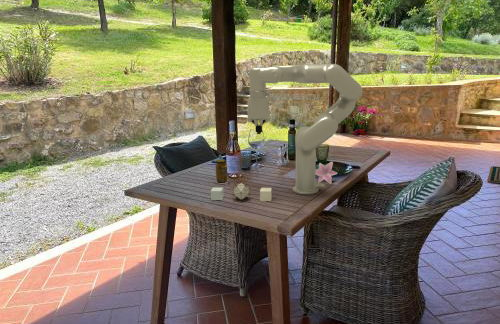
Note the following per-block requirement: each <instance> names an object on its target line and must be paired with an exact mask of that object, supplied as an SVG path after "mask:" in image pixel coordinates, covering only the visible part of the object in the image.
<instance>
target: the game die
mask: <svg viewBox="0 0 500 324" xmlns="http://www.w3.org/2000/svg"><path fill="white" fill-rule="evenodd" d="M247 185H248V184H247V183H246V184H244V183H243V182H242V181H240V183H238V184H235V186H234V187H232V190H233V193H232V196H235V197H236V198H235V199H239V200H240V202H241V201H242V202H243V200H244V199H245V198H246V199H247V198H248V196H251V194H250V189H251V187H250V186H247Z"/></svg>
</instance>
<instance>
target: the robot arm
mask: <svg viewBox="0 0 500 324" xmlns="http://www.w3.org/2000/svg"><path fill="white" fill-rule="evenodd" d="M248 75H249V78H248V80H249V97H248V101H247V119H246V120H247V122H249V123H252V124H254V127H255V133H256V135H261V134H262V133H263V125H265V123H268V122H270V121H271V118H270V114H271V113H270V101H269V97H268V96H269V95H270V92H269V91H267V84H278V83H290V82H291V83H298V84H304V85H305V84H329V85H331V87H333V88H334V90H335V91H336V92H338V93H339V96H338V98H337V100H336V102H335V103H334V104H332V105H331V106H329V108H327V109H326V110H324V111H323V112H322V113H320V114H319V115H317V116H316V118H315V119H314V123H313V124H312V125H310V126H306V125H305V126H302V127H300V128H298V129H297V131H296V132H295V136H294V137H295V138H294V143H295V186H293V187H292V191H293V192H294V193H295V194H299V195H314V194H316V193H318V192H319V189H320V188H321V189H323V188H326V185H325V184H326V183H323V182H319V183H318V181H317V180H316V175H315V170H316V169H317V168H316V166H317V164H316V159H317V158H316V155H317V154H316V152H317V151H316V150H317V148H319V146H321V145H323V144H324V143H325V142H326V141H328V140H329V139H331V138H332V137H333V136H334V135H335V134H336V132H337V131H338V128H339V125H340V124H341V123H342V121H344V120H345V119H346V118H348V117H349V116H350V115H351V113H352V112H353V111H354V110H355V107H356V104H357V101H358V100H359V99H360V98H361V97H362V95H363V87H362V84H360V83H359V82H358V81H357V80H356V79H354V78H353V77H352V76H351V75H350V74H349V73H348V72H347V71H346V70H345V69H344V68H343V67H342V66H341V65H339V64H336V63H321V64H320V63H315V64H313V63H312V64H311V63H310V64H309V63H308V64H306V63H305V64H298V65H297V64H296V65H272V66H270V67H251V68H250V69H249V71H248ZM258 120H260V121H259V122H258Z"/></svg>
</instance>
